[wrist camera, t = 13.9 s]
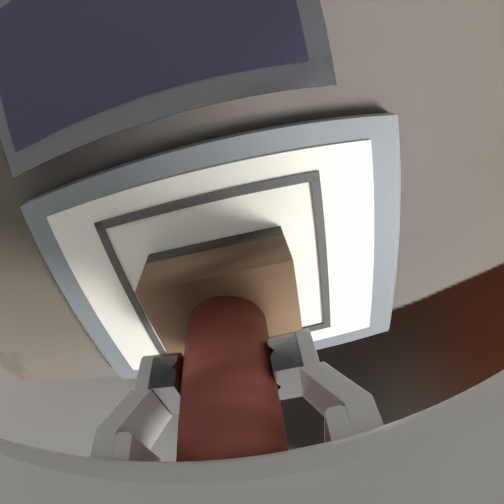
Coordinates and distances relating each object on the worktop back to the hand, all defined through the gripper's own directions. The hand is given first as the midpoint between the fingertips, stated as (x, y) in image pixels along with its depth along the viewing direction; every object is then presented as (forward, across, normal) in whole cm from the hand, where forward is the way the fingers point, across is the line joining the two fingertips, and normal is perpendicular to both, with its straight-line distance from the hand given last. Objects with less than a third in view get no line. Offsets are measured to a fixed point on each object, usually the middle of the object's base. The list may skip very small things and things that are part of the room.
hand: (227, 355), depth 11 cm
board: (+5, 0, 0) cm, 5 cm away
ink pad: (+5, +1, -12) cm, 14 cm away
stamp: (+4, 0, 0) cm, 4 cm away
